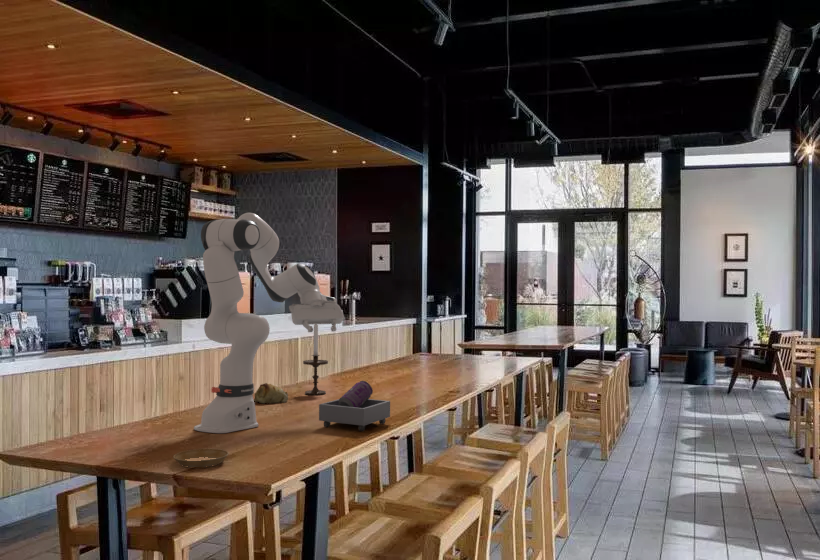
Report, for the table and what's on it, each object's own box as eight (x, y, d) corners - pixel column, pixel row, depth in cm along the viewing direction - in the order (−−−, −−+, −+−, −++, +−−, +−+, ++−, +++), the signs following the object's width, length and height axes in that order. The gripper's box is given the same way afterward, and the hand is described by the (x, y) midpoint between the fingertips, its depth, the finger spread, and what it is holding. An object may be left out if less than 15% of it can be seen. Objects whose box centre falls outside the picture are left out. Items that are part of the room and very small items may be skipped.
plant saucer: (165, 469, 200) (165, 460, 200) (184, 457, 215) (184, 447, 215) (219, 470, 199) (219, 461, 199) (234, 457, 214) (235, 448, 214)
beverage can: (341, 414, 263) (362, 395, 271) (356, 416, 258) (376, 396, 266) (334, 398, 260) (355, 379, 269) (348, 399, 256) (369, 379, 264)
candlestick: (330, 394, 326) (331, 315, 326) (306, 396, 322) (306, 315, 322) (324, 391, 336) (324, 313, 336) (300, 392, 332) (301, 314, 332)
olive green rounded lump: (247, 402, 306) (247, 383, 306) (264, 398, 317) (265, 379, 317) (276, 405, 300) (276, 385, 300) (293, 400, 312) (293, 381, 311)
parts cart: (363, 432, 248) (364, 408, 248) (318, 427, 256) (319, 404, 256) (390, 423, 264) (390, 401, 264) (346, 418, 272) (347, 396, 272)
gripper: (289, 298, 283) (298, 326, 275) (339, 298, 293) (349, 324, 284) (285, 309, 287) (294, 337, 279) (335, 309, 297) (344, 335, 288)
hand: (322, 330), depth 282 cm, fingers open, 8 cm apart
